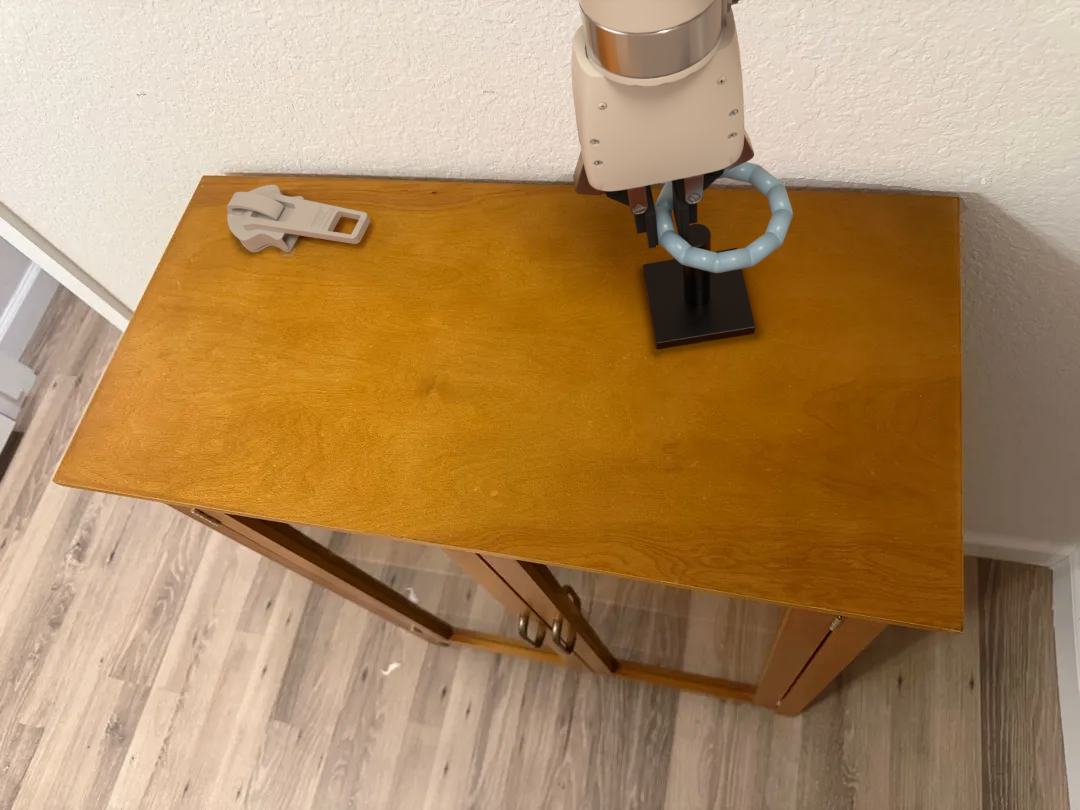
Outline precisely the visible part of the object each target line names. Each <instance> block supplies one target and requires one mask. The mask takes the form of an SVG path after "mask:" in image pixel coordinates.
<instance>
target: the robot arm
mask: <svg viewBox="0 0 1080 810" xmlns="http://www.w3.org/2000/svg"><path fill="white" fill-rule="evenodd" d="M740 1H741V0H578V4H579V5H578V6H579V10H580V18H581V25H580V26H579V27H578V28H577V30H576V31H575V33H574V35H573V37H572V45H571V86H572V87H571V88H572V97H573V105H574V106H573V107H574V113H575V122H576V128H577V129H576V130H577V137H578V141H579V145H580V152H579V156H578V158H577V161H576V162H577V163H576V165H575V168H574V172H573V175H572V179H573V187H574V190H575V193H576V194H577V195H584V196H585V195H587V196H602V195H605V196H606V197H607V198H608V199H611V200H613V201H615V202H618V203H620V204H622V205H625V206H627V207H629V209H630V213H632V214H633V219H634V224H635V229H636V234H637V235H640V234H646V240H647V245H648V249H654V248H657V246H659V243H658V233H657V220H656V212H655V207H654V206H655V203H654V197H653V192H652V187H651V186H653V185H657V184H661V183H667V182H668V181H672V194H673V208H674V209H673V211H672V212H673V217H674V221H675V225H676V230H677V234H678V235H680V236H681V237H682V238H683V239H684V240H685V241H686V242H687V241H690V225H692V224H698V203H700V202H701V201H702V200H703V197H704V191H705V190H706V189H707V188H709V187H710V186H711V185H712V184H714V183H715V182H716V181H717V180H718V178H719V177H720V176H721V175H722V174H723V173H724V170H726V169H728V170H730V169H732V168H734V167H736V166H738V165H741V164H743V163H745V162H749V161H751V160H752V159H753V158H754V157H755V151H754V147H753V143H752V140H751V138H750V136H749V134H748V133H747V130H746V128H745V102H744V101H745V99H744V83H743V69H742V61H741V51H740V44H739V38H738V31H737V25H736V19H735V16H734V12H733V8H732V6H733V5H738V4H739V2H740Z"/></svg>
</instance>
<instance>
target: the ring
mask: <svg viewBox="0 0 1080 810" xmlns="http://www.w3.org/2000/svg"><path fill="white" fill-rule="evenodd" d="M723 178H724V179H729V180H735V181H738V182H743V183H747V184H750V185H751V186H752V187H754V188H755V189H756V190H758V191H759V192H760V193H761V194H762V195H764V196H765V197H766V198H767V202H768V206H769V209H770V213H771V217H770V220H769V222H768V225H767V227H766V230H765V233H763V234H762V235H760V236H759V237H758V238H757V239H755V240H754V241H752V242H751V243H750V244H749V245H747V246H746V247H742V248H737V249H736V250H731V251H726V252H720V253H716V251H712V250H711V251H708V250H704V249H700V248H696V247H692V246H691V245H689V244H688V243H687V242H686V241H685V240H684V239H683V238H682V237H681V236H680V235H678V232H676V228H675V224H674V219H673V215H672V213H673V212H674V211H673V209H674V208H673V194H672V181H667V182H664V184H663V187H662V189H661V191H660V193H659V195H658V197H657V199H656V202H655V203H654V207H655V212H656V220H657V233H658V245H660V246H661V247H662V248H663V249H664V250H665V251H666V252H667V253H668V254H669V255H671V256H672V258H673V259H676V260H677V261H678V262H679V263H681V264H682V265H685V266H689V267H693V268H697V269H701V270H705V271H709V272H713V273H721V272H727V271H732V270H738V269H742V270H744V269H749V268H752V267H754V266H756V265H757V264H759V263H760V262H761V261H763V260H764V259H765V258H767V257H768V256H770V255H771V254H772V253H774V252H775V251H777V250H778V249H779V248H781V246H782V245H783V243H784V240H785V239H786V237H787V236H786V235H787V233H788V231H789V228H790V225H791V223H792V221H793V218H794V211H793V207H792V204H791V200H790V198H789V195H788V192H787V188H786V186H785V184H784V183H783V182H782V181H780V179H778V178H776V177H775V176H774V175H773V174H771V173H770V172H769V171H768V170H767V169H765V168H764V167H763V166H761V165H760V164H758V163H753V162H749V161H747V162H745V163H743V164H741V165H738V166H736V167H734V168H732V169H730V170H728V169H726V170H724V173H723V174H722V175H721V176H720V177H719V178H718V179H723ZM718 179H717V180H718Z"/></svg>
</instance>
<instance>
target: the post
mask: <svg viewBox="0 0 1080 810" xmlns="http://www.w3.org/2000/svg"><path fill="white" fill-rule="evenodd" d="M689 225H690V241H687V243H688V244H689V245H691V246H692V247H696V248H700V249H704V250H708V251H712V244H711V243H712V233H711V230H710V228H709V227H708V226H706V225H705V224H702V223H692V224H689ZM736 249H738V248H737V247H733V248H727V249H722V250H716V251H715V252H716V253H720V252H726V251H731V250H736ZM642 270H643V276H644V281H645V287H646V288H645V289H646V294H647V300H648V306H649V312H650V317H651V324H652V329H653V335H654V341H655V347H656V350H662V349H669V348H675V347H681V346H687V345H694V344H699V343H705V342H711V341H718V340H722V339H723V340H725V339H731V338H737V337H742V336H748V335H749V336H750V335H755V334H756V324H755V323H756V322H755V319H754V316H753V310H752V307H751V302H750V297H749V294H748V290H747V285H746V281H745V277H744V273H743V269H738V270H732V271H727V272H721V273H713V272H709V271H705V270H701V269H697V268H693V267H689V266H685V265H682V264H681V263H679V262H678V261H677V260H676V259H675V258H672V259H671V258H670V259H666V260H661V261H654V262H649V263H643V264H642Z"/></svg>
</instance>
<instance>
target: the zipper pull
mask: <svg viewBox="0 0 1080 810" xmlns="http://www.w3.org/2000/svg"><path fill="white" fill-rule="evenodd" d="M226 212H227V217H226V219H227V220H226V221H227V225H228V227H229V230H230V231H231V233H232V234H233V236H234V237H235V238H237V239H238V240H239V241H240V243H241V244H242V246H243V247H244V248H245V249H246V250H248V252H251V253H258V252H260V251H262V250H264V249H266V248H267V247H276V248H279V249H280V250H282V251H283V252H287V253H289V252H291V251H292V249H293V248H294V245H295V244H296V242H297V241H298V239H299V237H300V236H302V237H308V238H309V237H310V238H315V239H322V240H328V241H333V242H341V243H348V244H353V245H356V244H358V243H360V242H361V241H362V239H363V237H364V235H365V233H366V231H367V229H368V228H369V225H370V223H371V219H370V217H369V215H368V214H367V212H366V211H361V210H357V209H356V210H355V209H350V208H346V207H341V206H337V205H331V204H327V203H322V202H317V201H313V200H309V199H305V198H304V197H303V196H302V195H295V196H288V195H284V193H283V192H282V191H281V189H280V188H279V186H278V185H277V184H267V185H263V186H259V187H256V188H253V189H251V190H248V191H237V192H234V193H233V195H232V197H231V198H230V200H229V202H228V203H227V205H226ZM342 217H344V218H349V219H354V220H357V223H356V224H355V226H354V228H353V230H352V232H351V234H350V233H344V232H339V231H338V232H336V231H334V230H335V229H336V227H337V224H338V223H339V221H340V219H341V218H342Z"/></svg>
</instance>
